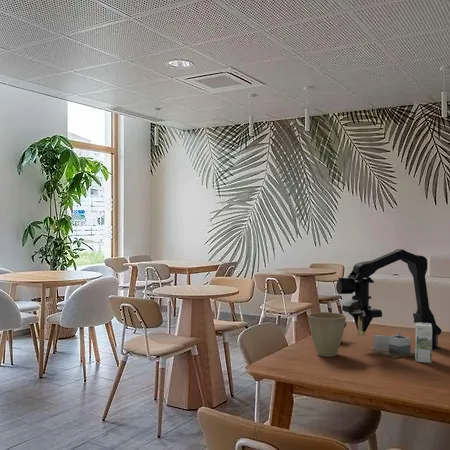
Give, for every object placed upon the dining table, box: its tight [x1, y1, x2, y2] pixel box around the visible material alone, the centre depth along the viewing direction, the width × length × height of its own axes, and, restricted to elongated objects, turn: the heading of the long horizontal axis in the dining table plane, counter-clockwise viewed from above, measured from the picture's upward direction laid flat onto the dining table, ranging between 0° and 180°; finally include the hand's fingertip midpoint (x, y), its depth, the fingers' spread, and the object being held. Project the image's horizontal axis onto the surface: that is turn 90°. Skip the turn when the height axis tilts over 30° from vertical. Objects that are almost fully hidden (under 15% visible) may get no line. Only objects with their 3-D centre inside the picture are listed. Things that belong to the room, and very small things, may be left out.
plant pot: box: [308, 311, 347, 358], centre depth 205 cm, size 15×15×16 cm
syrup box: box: [414, 323, 433, 364], centre depth 195 cm, size 6×6×14 cm
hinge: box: [370, 331, 416, 360], centre depth 207 cm, size 15×12×7 cm
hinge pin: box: [357, 315, 366, 337], centre depth 211 cm, size 3×3×8 cm
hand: (361, 331), depth 211 cm, fingers closed on hinge pin, 3 cm apart
